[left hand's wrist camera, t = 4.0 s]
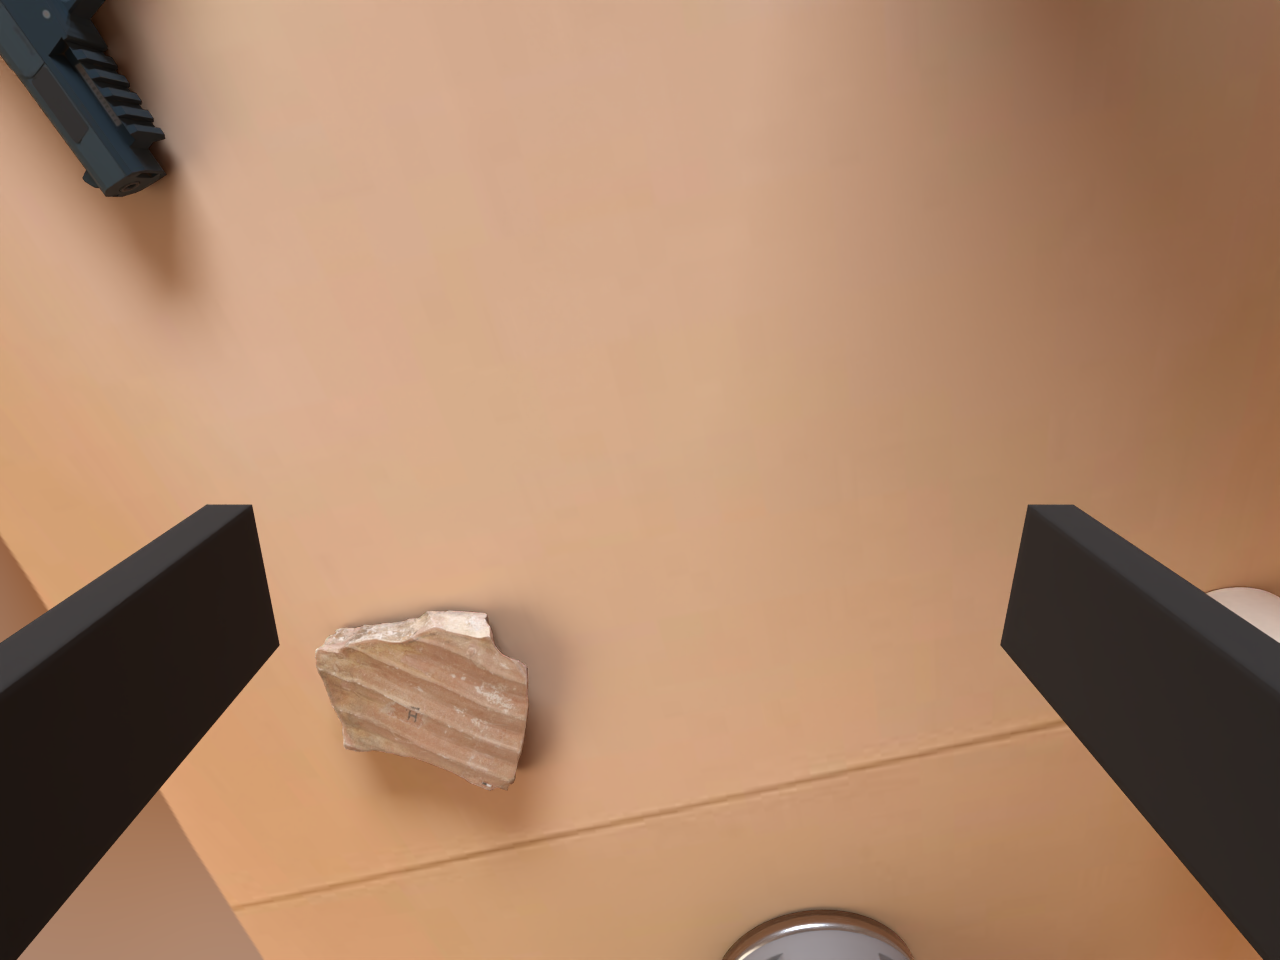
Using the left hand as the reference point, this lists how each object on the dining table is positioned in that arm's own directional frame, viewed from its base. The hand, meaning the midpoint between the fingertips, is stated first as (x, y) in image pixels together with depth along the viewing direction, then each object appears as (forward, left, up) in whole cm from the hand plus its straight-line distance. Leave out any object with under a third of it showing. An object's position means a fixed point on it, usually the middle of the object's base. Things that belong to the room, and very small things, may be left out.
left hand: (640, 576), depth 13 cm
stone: (-23, +13, -28) cm, 39 cm away
